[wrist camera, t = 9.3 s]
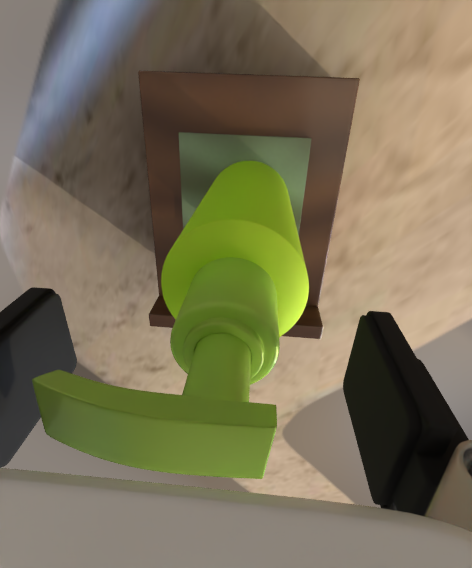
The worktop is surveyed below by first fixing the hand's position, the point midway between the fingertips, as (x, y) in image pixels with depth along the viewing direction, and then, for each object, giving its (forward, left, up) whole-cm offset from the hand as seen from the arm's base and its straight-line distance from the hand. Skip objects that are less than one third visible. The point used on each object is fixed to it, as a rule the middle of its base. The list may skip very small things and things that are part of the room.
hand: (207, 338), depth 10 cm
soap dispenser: (0, 0, -16) cm, 16 cm away
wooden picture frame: (+1, 0, -24) cm, 24 cm away
